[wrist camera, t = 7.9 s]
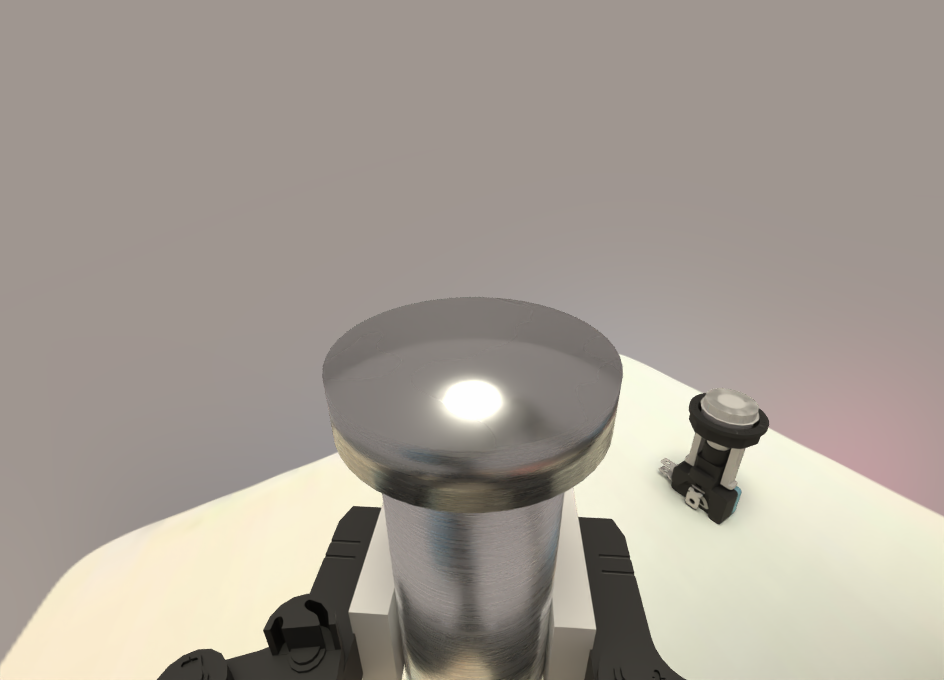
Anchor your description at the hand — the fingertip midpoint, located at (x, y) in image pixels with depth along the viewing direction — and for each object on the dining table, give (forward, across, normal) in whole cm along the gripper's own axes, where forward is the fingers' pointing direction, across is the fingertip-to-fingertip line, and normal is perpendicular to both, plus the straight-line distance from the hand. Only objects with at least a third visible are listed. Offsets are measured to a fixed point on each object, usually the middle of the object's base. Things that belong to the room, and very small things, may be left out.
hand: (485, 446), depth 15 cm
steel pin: (-5, 0, -8) cm, 10 cm away
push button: (+19, +17, -20) cm, 32 cm away
